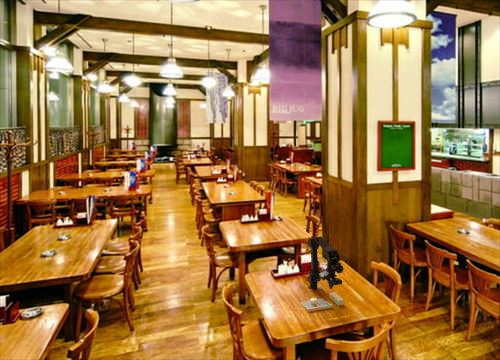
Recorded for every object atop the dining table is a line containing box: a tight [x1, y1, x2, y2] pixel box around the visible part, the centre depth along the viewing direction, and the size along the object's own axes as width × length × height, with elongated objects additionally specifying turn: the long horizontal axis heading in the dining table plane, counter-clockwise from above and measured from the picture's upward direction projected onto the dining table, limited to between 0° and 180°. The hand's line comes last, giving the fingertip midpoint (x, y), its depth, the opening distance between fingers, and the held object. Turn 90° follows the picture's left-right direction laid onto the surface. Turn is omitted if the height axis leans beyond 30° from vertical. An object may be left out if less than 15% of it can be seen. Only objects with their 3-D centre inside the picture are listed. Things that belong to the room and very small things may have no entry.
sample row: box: [329, 291, 344, 307], centre depth 248 cm, size 11×5×5 cm, turn 18°
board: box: [299, 297, 333, 313], centre depth 243 cm, size 13×18×3 cm
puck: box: [309, 297, 319, 305], centre depth 245 cm, size 5×5×2 cm
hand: (330, 288), depth 245 cm, fingers closed
